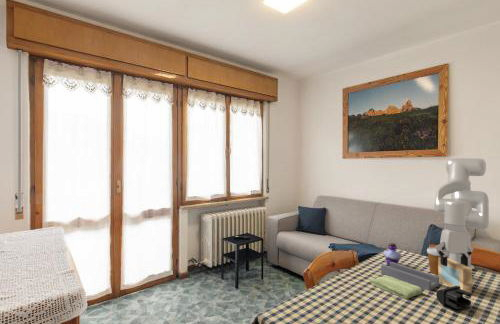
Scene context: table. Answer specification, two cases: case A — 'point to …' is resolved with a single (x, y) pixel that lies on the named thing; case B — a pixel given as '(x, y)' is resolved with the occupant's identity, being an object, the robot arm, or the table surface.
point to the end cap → (454, 298)
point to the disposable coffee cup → (433, 259)
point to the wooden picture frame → (455, 275)
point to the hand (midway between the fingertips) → (454, 265)
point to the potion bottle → (392, 254)
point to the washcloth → (396, 287)
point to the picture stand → (411, 276)
